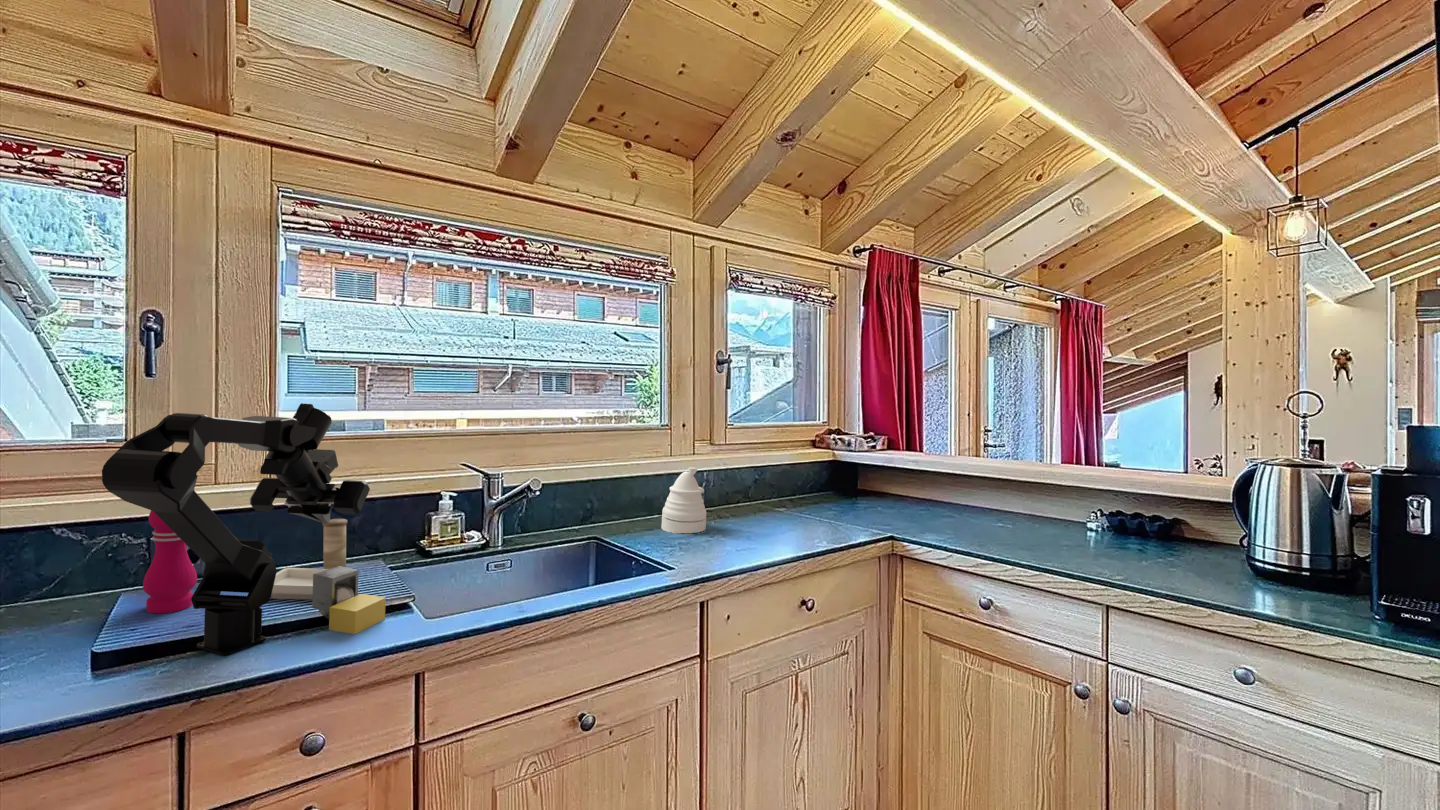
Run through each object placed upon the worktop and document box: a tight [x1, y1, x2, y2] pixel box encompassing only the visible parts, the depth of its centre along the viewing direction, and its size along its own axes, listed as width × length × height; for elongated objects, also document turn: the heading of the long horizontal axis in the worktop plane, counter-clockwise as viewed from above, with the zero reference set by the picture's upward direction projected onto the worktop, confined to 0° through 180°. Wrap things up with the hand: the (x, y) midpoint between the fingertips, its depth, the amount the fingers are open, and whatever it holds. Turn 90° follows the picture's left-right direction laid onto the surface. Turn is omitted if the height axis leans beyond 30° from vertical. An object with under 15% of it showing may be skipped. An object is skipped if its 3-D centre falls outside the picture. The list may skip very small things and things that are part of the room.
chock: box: [328, 593, 387, 635], centre depth 113 cm, size 7×5×4 cm
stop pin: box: [322, 518, 348, 569], centre depth 136 cm, size 4×4×11 cm
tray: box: [270, 567, 328, 600], centre depth 127 cm, size 10×12×2 cm
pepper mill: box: [142, 510, 198, 614], centre depth 115 cm, size 7×7×20 cm
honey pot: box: [661, 466, 707, 534], centre depth 193 cm, size 13×13×18 cm
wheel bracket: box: [311, 566, 360, 620], centre depth 116 cm, size 5×6×8 cm
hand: (327, 521), depth 128 cm, fingers closed
